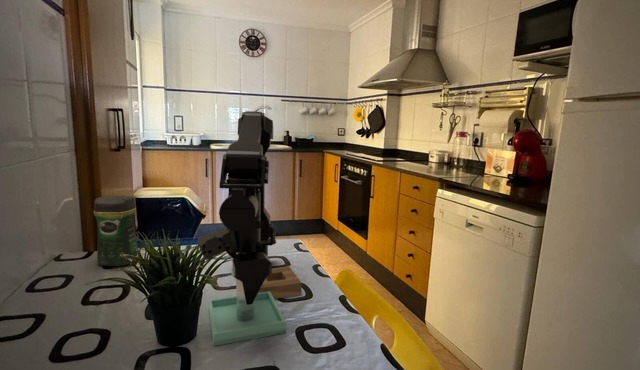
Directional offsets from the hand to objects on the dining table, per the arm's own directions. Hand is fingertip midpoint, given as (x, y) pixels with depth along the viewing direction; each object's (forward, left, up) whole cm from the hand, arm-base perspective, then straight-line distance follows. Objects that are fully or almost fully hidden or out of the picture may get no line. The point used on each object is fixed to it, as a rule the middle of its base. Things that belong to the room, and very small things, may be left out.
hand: (245, 293), depth 68 cm
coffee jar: (-41, -28, -6) cm, 50 cm away
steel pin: (0, 0, -5) cm, 5 cm away
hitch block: (-12, +9, -6) cm, 16 cm away
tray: (0, 0, -6) cm, 6 cm away
